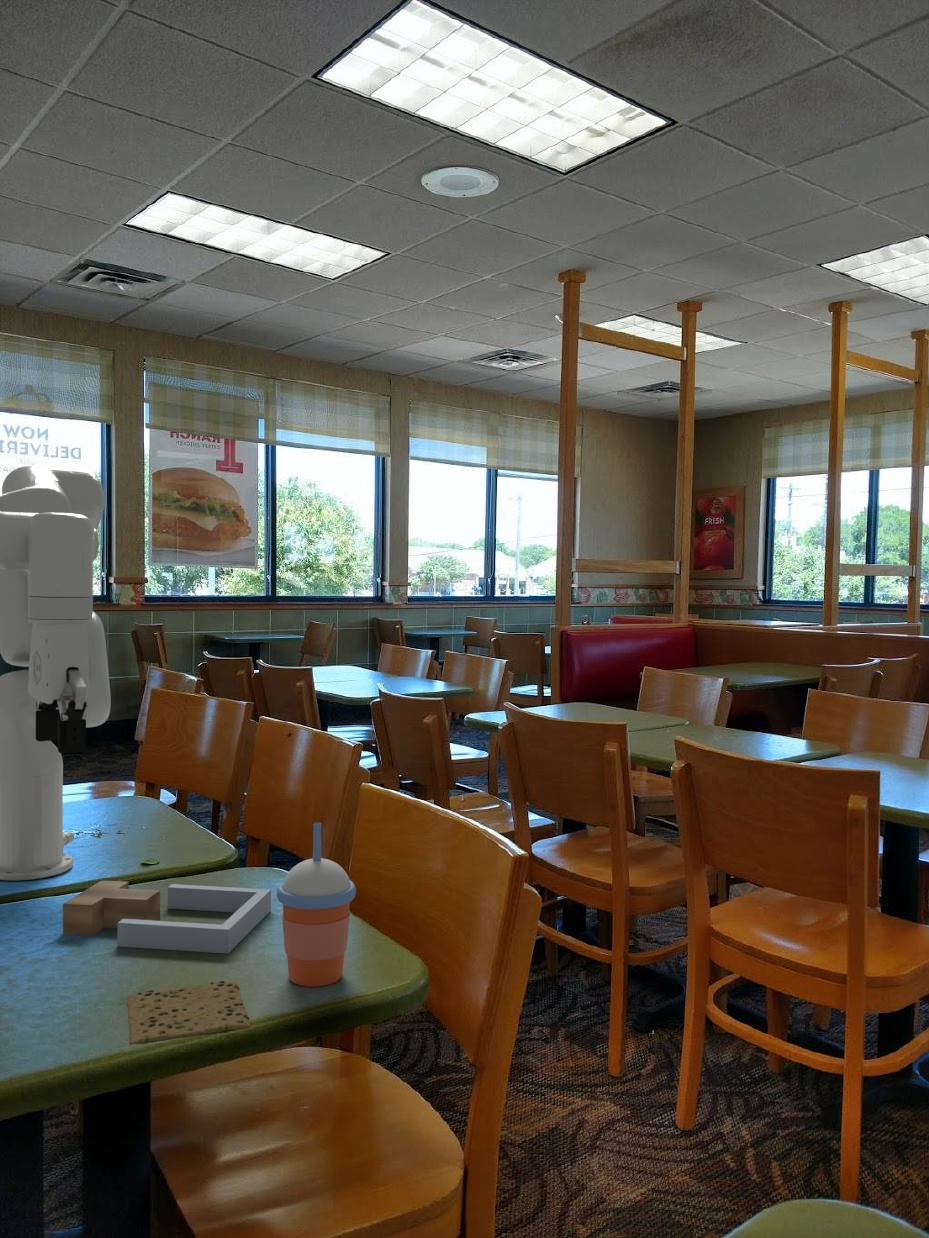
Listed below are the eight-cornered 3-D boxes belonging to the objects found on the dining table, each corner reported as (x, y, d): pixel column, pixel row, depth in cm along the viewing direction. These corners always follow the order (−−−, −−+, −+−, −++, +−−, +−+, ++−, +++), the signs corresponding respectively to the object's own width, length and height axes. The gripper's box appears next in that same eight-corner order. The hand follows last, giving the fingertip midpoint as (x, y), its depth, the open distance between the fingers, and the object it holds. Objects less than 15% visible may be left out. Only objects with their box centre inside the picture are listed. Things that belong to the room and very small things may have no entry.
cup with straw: (349, 994, 107) (350, 834, 106) (268, 992, 107) (269, 832, 106) (359, 962, 116) (361, 815, 115) (284, 960, 116) (286, 813, 116)
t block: (101, 908, 134) (101, 880, 134) (169, 912, 133) (169, 883, 132) (63, 934, 124) (62, 903, 124) (136, 938, 123) (135, 907, 123)
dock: (172, 904, 136) (172, 883, 136) (270, 910, 134) (271, 889, 134) (117, 946, 120) (117, 922, 120) (228, 953, 118) (228, 929, 118)
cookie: (125, 999, 105) (125, 990, 105) (237, 985, 110) (237, 976, 110) (127, 1049, 94) (127, 1039, 94) (252, 1031, 98) (252, 1022, 98)
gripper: (11, 608, 125) (10, 738, 126) (49, 614, 111) (48, 760, 112) (70, 608, 130) (69, 733, 130) (114, 614, 116) (113, 754, 117)
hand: (60, 745), depth 121 cm, fingers open, 9 cm apart
